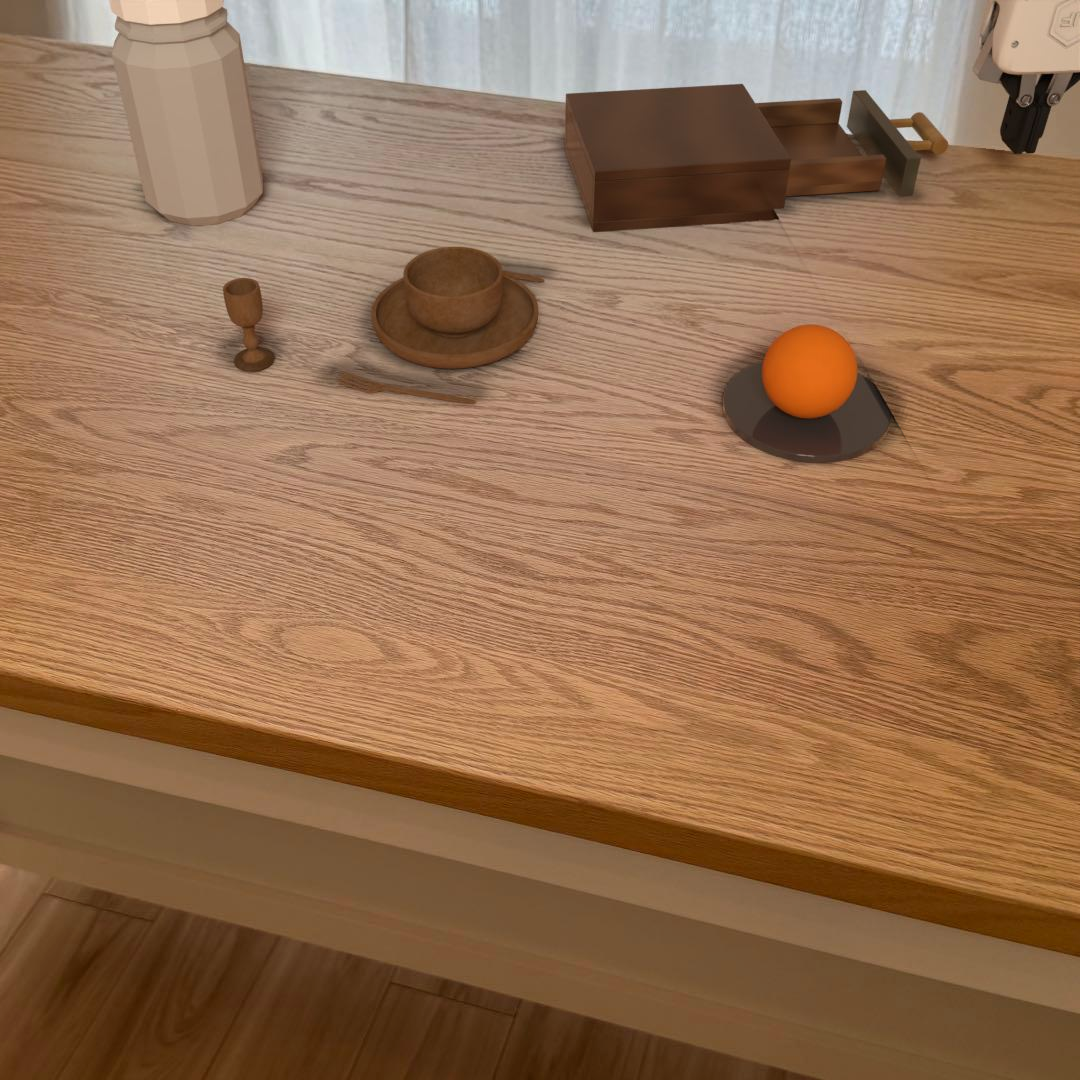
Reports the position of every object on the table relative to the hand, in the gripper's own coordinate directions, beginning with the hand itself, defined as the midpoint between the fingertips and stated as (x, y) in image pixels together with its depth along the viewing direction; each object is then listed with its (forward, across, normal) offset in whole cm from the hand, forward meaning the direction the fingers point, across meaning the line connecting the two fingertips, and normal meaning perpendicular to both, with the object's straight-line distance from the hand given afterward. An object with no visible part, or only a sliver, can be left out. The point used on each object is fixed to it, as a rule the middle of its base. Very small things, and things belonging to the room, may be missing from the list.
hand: (1017, 146), depth 102 cm
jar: (+5, -67, +7) cm, 67 cm away
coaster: (+4, -26, -28) cm, 38 cm away
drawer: (+4, -14, +6) cm, 15 cm away
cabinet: (+5, -28, +6) cm, 29 cm away
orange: (+4, -26, -28) cm, 38 cm away
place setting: (+5, -52, -14) cm, 54 cm away
